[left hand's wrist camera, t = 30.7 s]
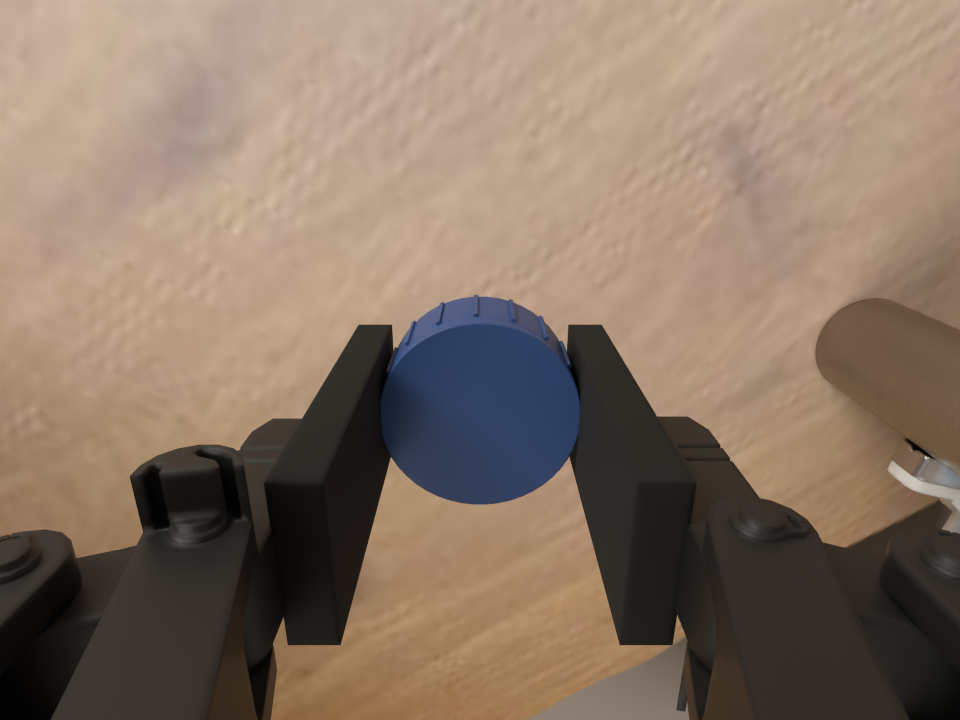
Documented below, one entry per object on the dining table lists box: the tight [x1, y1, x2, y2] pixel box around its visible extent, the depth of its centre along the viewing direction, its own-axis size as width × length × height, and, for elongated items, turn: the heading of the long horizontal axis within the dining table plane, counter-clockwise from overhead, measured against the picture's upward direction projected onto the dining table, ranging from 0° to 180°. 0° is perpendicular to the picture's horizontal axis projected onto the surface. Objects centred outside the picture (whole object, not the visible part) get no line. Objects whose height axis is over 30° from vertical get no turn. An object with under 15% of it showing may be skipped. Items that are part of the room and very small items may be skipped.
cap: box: [380, 295, 580, 504], centre depth 13 cm, size 4×4×2 cm
